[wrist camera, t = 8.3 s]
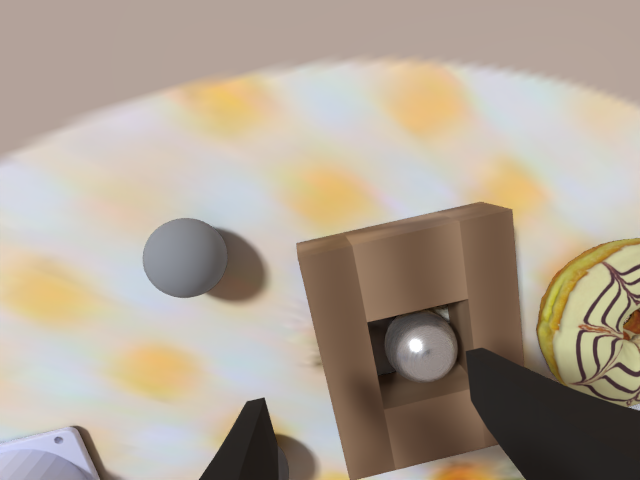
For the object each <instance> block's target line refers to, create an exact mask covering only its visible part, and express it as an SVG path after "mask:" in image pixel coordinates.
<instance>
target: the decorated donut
mask: <svg viewBox="0 0 640 480" xmlns="http://www.w3.org/2000/svg"><path fill="white" fill-rule="evenodd" d="M631 313H632V315H631V318H630V319H629V321H628V322H627V323H625V324H624V325H623V323H624V321H625V320H626V318H627V317H628V316H629V315H630V314H631ZM536 330H537V335H538V340H539V345H540V348H541V350H542V353H543V355H544V357H545V359H546V362H547V364H548V365H549V368H550V371H551V372H552V373H553V374H554V376H555V377H556V378H557V380H558V381H559V382H560V383H561V384H563V385H565V386H568V387H570V388H572V389H575V390H577V391H580V392H583V393H585V394H588V395H591V396H594V397H597V398H600V399H603V400H606V401H609V402H612V403H615V404H618V405H621V406H624V407H629V406H632V405H636V404H638V403H640V238H635V239H623V240H619V241H618V240H617V241H612V242H608V243H605V244H600V245H598V246H596V247H593V248H592V249H589V250H587V251H585V252H583V253H582V254H581V255H579V256H578V257H576V258H575V259H574V260H572V261H570V262H569V263H568V264H567V265H566V266H565V267H564V268H563V269H561V270H560V271H559V272H558V273H557V274H556V275H555V276H554V277H553V279H552V282H551V283H550V285H549V287H548V289H547V291H546V293H545V295H544V296H543V297H542V300H541V304H540V311H539V320H538V325H537V329H536Z"/></svg>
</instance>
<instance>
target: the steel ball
mask: <svg viewBox="0 0 640 480" xmlns="http://www.w3.org/2000/svg"><path fill="white" fill-rule="evenodd" d="M385 351H386V355H387V358H388V360H389V362H390V364H391V365H392V367H393V368H394V369H395V370H396V371H397V372H398V373H399V374H400V375H402V376H403V377H405V378H407V379H409V380H411V381H415V382H419V383H429V382H434V381H436V380H439V379H441V378H442V377H444V376H445V375H446V374H447V373H448V372H449V371H450V370H451V369H452V367H453V366H454V364H455V361H456V358H457V352H458V347H457V340H456V337H455V334H454V332H453V330H452V328H451V327H450V325H449V324H448V323H447V322H446V321H445V320H444V319H443V318H441V317H440V316H439V315H437V314H435V313H433V312H430V311H427V310H418V311H414V312H409V313H405V314H401V315H399V316H397V317H396V318H395V319H394V320H393V321H392V322H391V324H390V325H389V327H388V329H387V332H386V335H385Z"/></svg>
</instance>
